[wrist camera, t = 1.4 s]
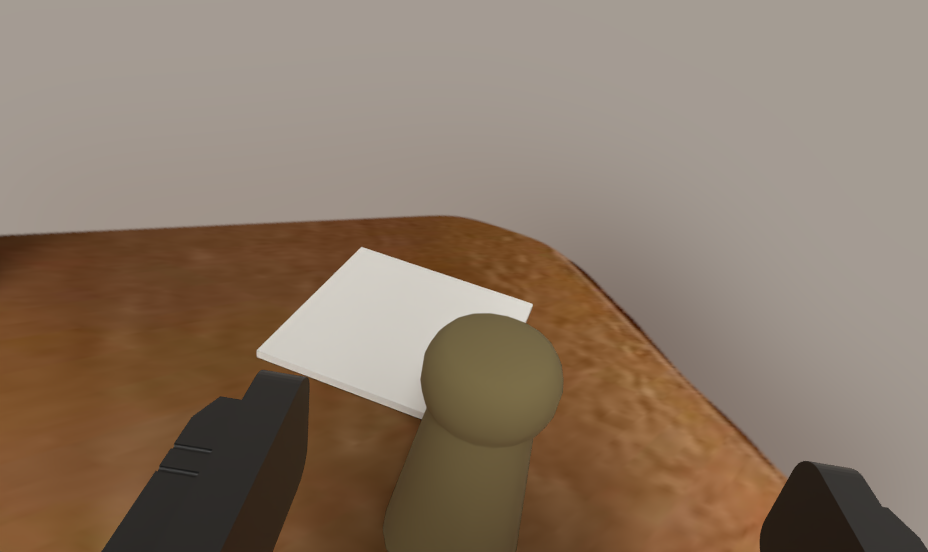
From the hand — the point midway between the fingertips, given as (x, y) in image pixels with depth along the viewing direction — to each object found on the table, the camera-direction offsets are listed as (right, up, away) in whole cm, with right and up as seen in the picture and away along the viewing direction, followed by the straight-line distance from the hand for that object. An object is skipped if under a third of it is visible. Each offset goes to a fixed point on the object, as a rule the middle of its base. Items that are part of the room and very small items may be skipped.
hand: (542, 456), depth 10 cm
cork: (-2, -9, +18) cm, 20 cm away
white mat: (-5, -1, +29) cm, 29 cm away
